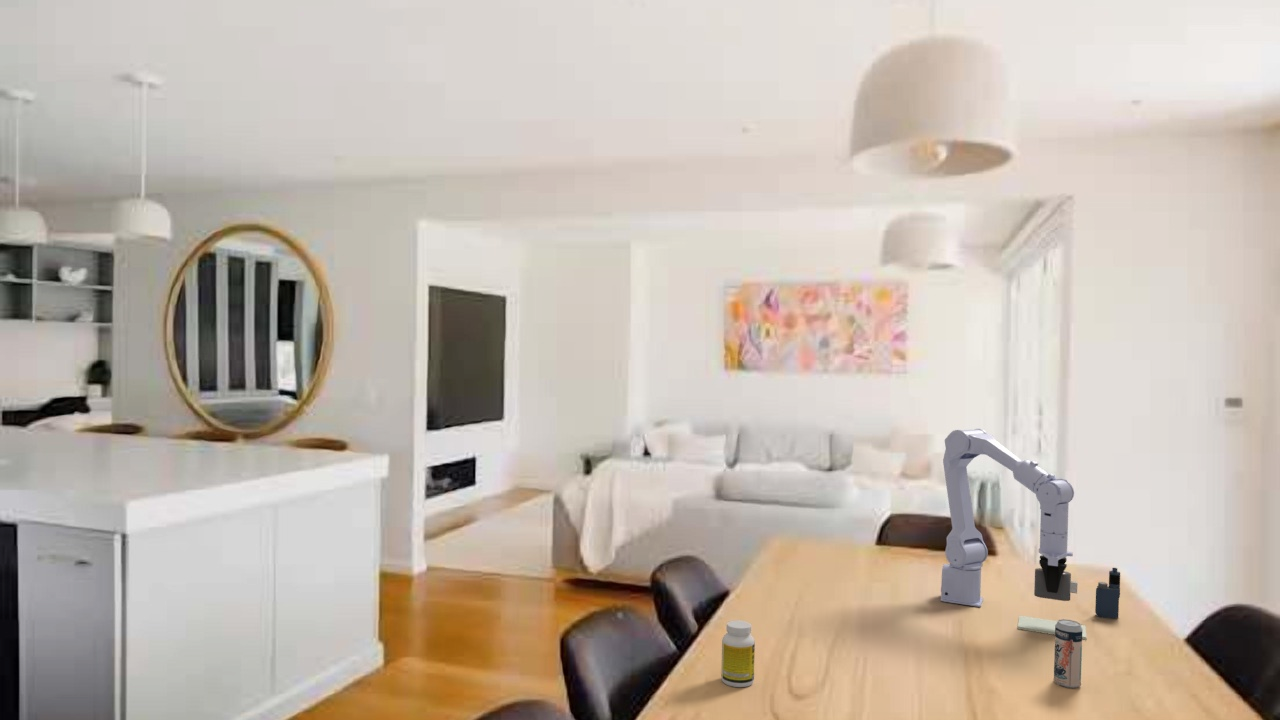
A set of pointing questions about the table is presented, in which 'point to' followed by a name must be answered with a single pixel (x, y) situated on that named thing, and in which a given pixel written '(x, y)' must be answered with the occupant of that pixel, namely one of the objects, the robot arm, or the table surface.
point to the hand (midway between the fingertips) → (1052, 589)
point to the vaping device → (1108, 596)
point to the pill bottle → (738, 654)
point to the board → (1041, 625)
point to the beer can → (1068, 653)
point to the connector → (1063, 591)
